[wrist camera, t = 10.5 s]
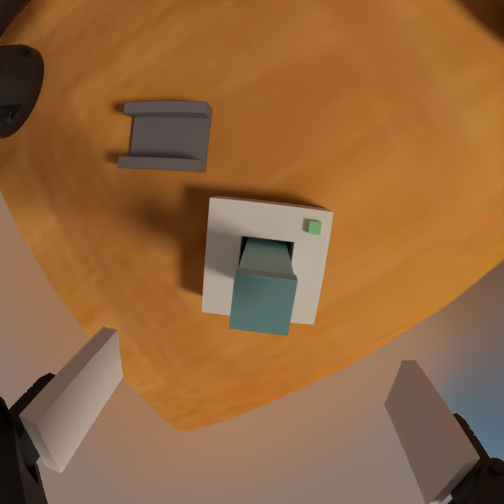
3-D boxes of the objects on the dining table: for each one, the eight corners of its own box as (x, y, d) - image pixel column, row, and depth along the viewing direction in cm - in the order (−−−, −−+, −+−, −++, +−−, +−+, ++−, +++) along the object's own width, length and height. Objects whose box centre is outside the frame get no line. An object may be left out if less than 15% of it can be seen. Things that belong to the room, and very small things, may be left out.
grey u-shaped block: (131, 168, 33) (117, 167, 29) (138, 108, 31) (125, 102, 28) (205, 172, 32) (198, 171, 29) (212, 109, 31) (206, 101, 27)
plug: (243, 270, 35) (228, 328, 21) (248, 234, 34) (234, 272, 20) (280, 275, 35) (287, 335, 21) (286, 239, 34) (297, 280, 20)
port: (208, 297, 36) (200, 314, 31) (216, 195, 33) (208, 197, 29) (309, 309, 36) (314, 327, 31) (325, 208, 33) (334, 212, 28)
